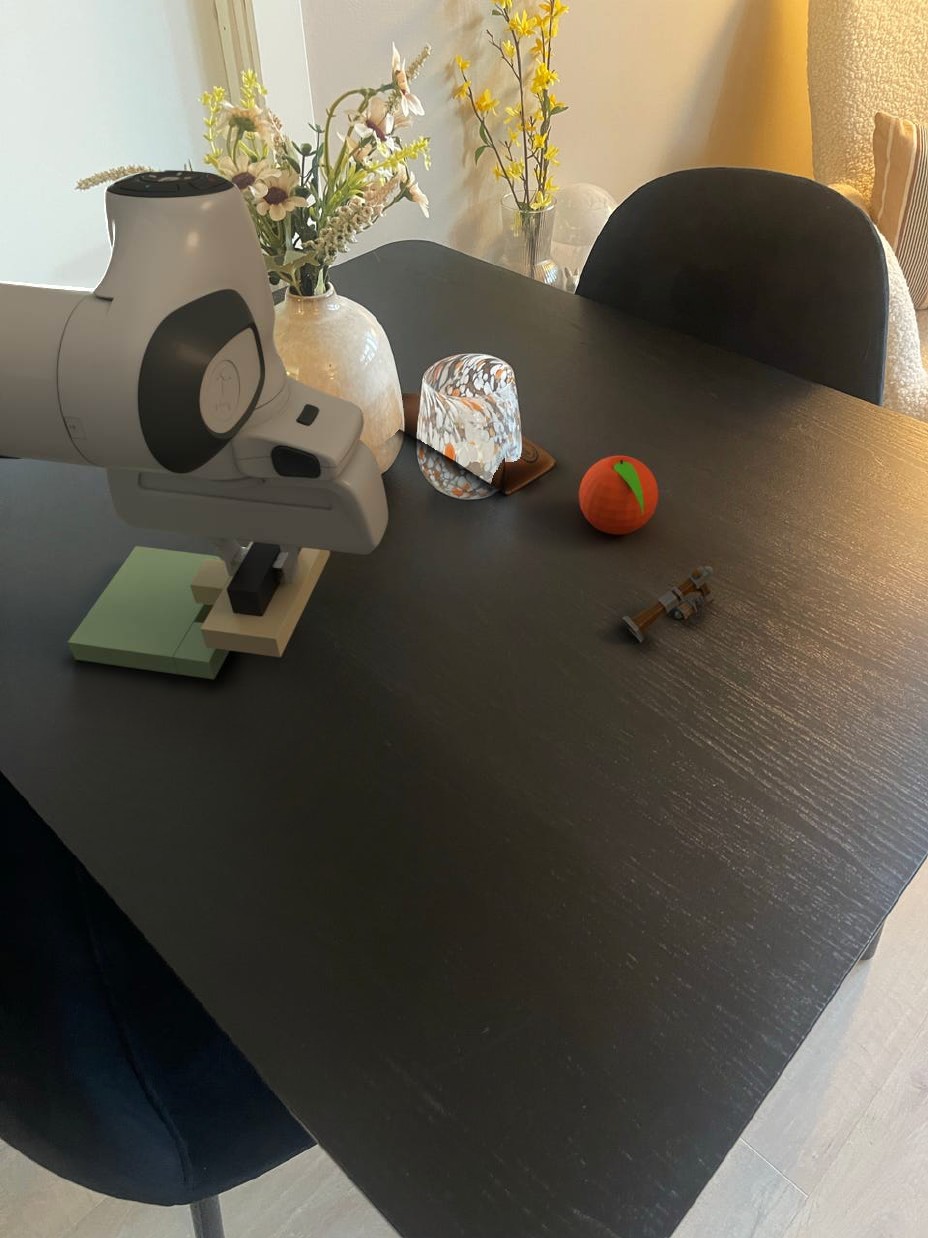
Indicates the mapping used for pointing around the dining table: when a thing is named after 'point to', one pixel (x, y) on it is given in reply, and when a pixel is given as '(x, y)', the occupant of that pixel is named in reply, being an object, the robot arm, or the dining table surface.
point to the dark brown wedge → (508, 473)
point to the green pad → (150, 618)
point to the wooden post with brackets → (674, 602)
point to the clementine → (618, 495)
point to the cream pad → (251, 626)
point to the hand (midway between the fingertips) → (265, 575)
